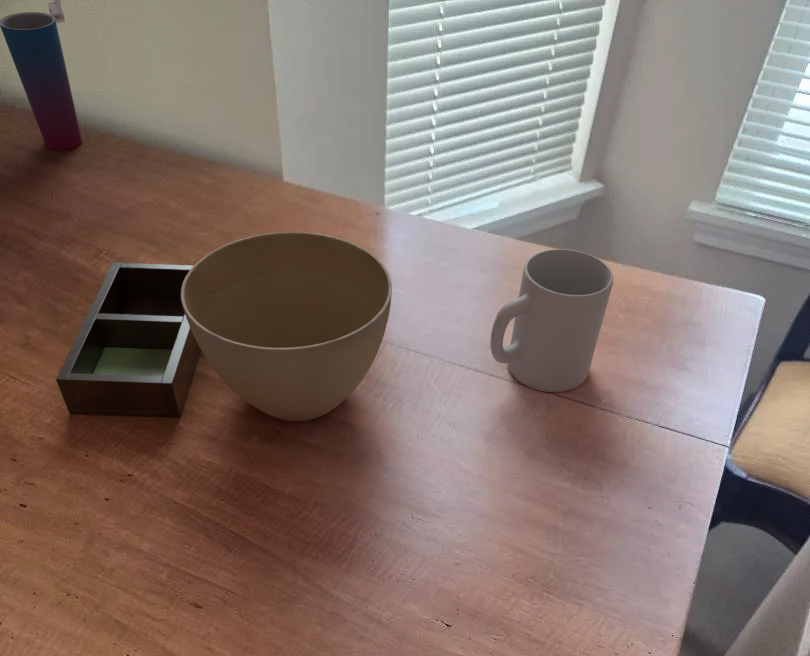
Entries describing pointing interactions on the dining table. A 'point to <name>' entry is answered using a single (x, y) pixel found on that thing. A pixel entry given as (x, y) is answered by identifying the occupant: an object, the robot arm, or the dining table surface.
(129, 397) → the divided storage box
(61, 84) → the cup
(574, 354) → the mug
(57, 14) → the robot arm
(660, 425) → the dining table surface
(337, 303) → the beige bowl
